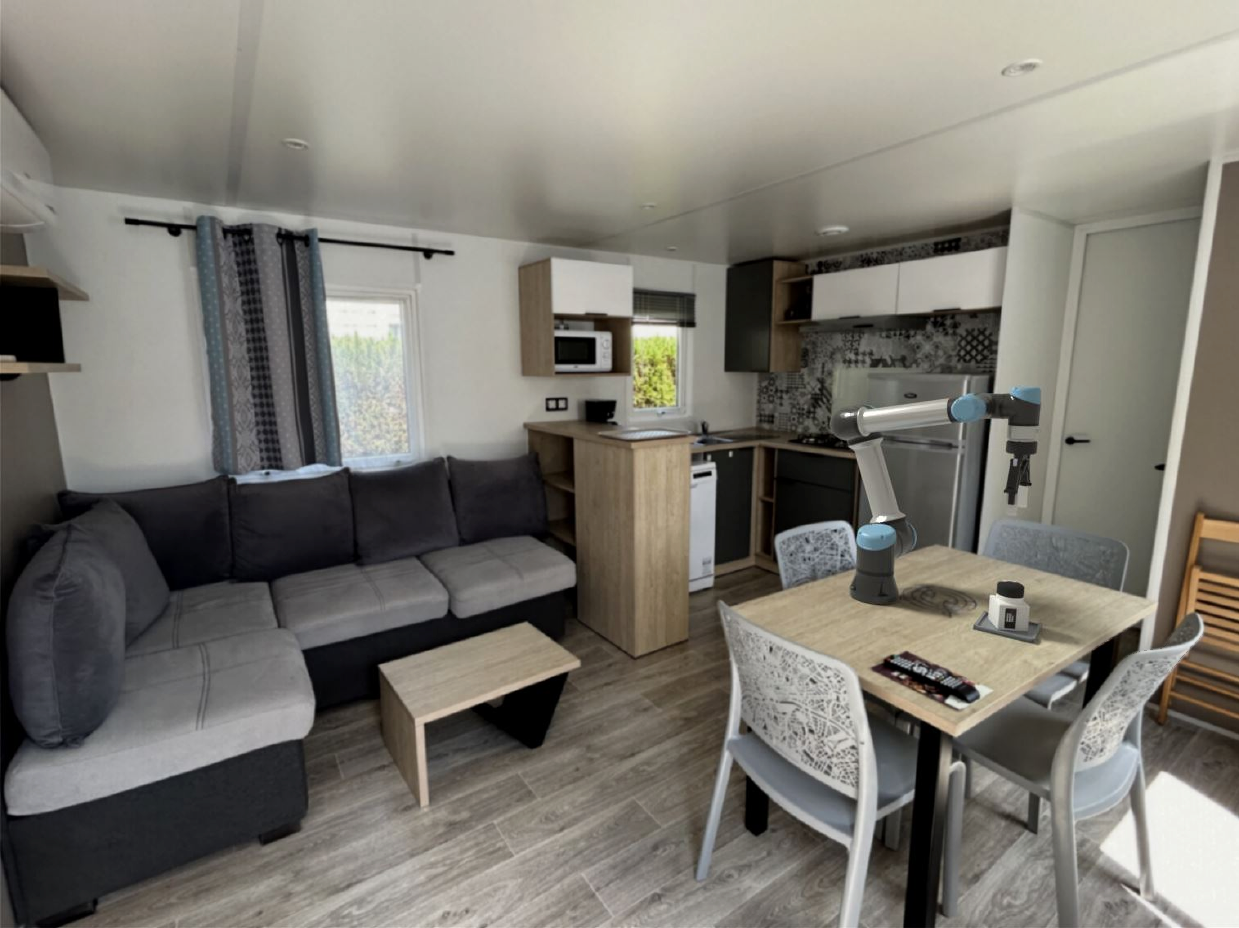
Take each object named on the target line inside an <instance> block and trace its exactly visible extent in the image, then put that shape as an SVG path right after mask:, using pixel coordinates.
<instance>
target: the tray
mask: <svg viewBox="0 0 1239 928" xmlns="http://www.w3.org/2000/svg"><path fill="white" fill-rule="evenodd" d="M988 615H989V611H986V610H983V611H982V613H981V615H980V616H979V617H978V619H977V620H976V621H975V622H974V624H973V627H972V629H973V630H975V631H978V632H983V633H987V634H991V635H996V636H1000V637H1004V638H1008V639H1013V640H1016V641H1021V642H1024V643H1028V644H1032V645H1035V642H1036V640H1037V638H1038V636H1039V635H1040V633H1041V630H1042V627H1043V623H1040V622H1037V621H1031V620H1029V624H1028V631H1027V632H1021V631H1008V630H998V629H997V628H996V627H995V626H994V625H993V624H992V623H991V621H990V620H989V619H988Z"/></svg>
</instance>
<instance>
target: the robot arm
mask: <svg viewBox="0 0 1239 928" xmlns="http://www.w3.org/2000/svg"><path fill="white" fill-rule="evenodd" d="M1041 406H1042V389H1041V388H1040V387H1038V386H1013V387H1010V391H1009V393H1008V392H1007V393H988V392H987V393H983V392H981V393H980V392H974V393H966V394H965V395H962V396H957V397H956V396H955V397H950V398H949V397H948V398H947V397H946V398H942V399H934V400H928V401H927V400H926V401H920V402H912V403H905V404H897V405H892V406H891V405H890V406H885V407H874V406H872V405H870V404H869V405H868V404H857V405H856V404H855V405H850V406H843V407H840V408H839V409H837V410H835V412H834V413H833V414H832V416H831V418H830V423H829V427H830V430H831V432H832V433H833V435H834V436H835V437H836V438H838V439H840V440H842V441H843V440H844V441H846V442H847V445H848V448H850V449H851V450H853V451H854V454H855V457H856V461H857V465H858V469H859V472H860V475H861V479H862V482H863V486H864V490H865V493H866V496H867V499H868V503H869V507H870V510H871V514H872V518H871V519H870V520H869V524H864V525H863V526H861V527H860V528H859V529H858V531H857V534H856V535H857V536H856V556H855V558H856V560H855V562H856V563H855V572H854V576H853V578H852V581H851V582H850V585H849V593H850V594H849V596H850V597H852V598H853V599H855V600H857V601H859V600H860V602H862V603H866V604H867V603H868V604H873V605H891V604H895V603H896V602H898V601H899V600H900V597H899V596H900V591H899V588H898V585H897V582H896V579H895V578H896V577H895V563H896V559H899V558H900V557H903V556H905V555H907V554H909V553H910V552H911V551H912V550H913V549H914V547H915V546H916V543H917V541H918V538H917V532H916V529H915V528H914V526H913V525H912V524H911V523H910V522H908V520H907V516H906V514H905V513H903V512H901V511H900V509H899V506H898V503H897V499H896V496H895V495H896V494H895V492H894V488H893V485H892V482H891V478H890V475H889V471H888V468H887V464H886V461H885V457H884V453H883V449H882V446H881V443H882V441H883V440H884V437H883V436H884V435H883V432H888V431H896V430H904V429H905V430H906V429H914V428H925V427H931V426H941V425H949V424H950V425H951V424H960V423H973V422H974V423H975V422H977V421H981V420H984V419H985V420H986V419H989V420H991V419H992V420H993V419H994V420H995V419H997V420H1007V425H1006V426H1007V427H1006V428H1007V429H1006V439H1007V440H1006V442H1005V443H1006V444H1005V452H1006V453H1007V454H1010V455H1011V454H1012V455H1013V457H1012V458H1010V459H1009V468H1008V474H1007V480H1006V486H1005V489H1003V493H1004V494H1006V497H1005V511H1004V512H1005V513H1004V516H1009V517H1010V516H1011V517H1017V516H1018V508H1022V509H1023V508H1025V509H1027V507H1028V495H1029V487H1032V485H1033V482H1031V455H1032V456H1033V455H1036V454H1037V451H1038V441H1036V440H1038V438H1039V437H1038V436H1039V433H1041V432H1042V431H1041V429H1040V428H1039V426H1040V416H1041V409H1042V408H1041Z"/></svg>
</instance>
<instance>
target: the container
mask: <svg viewBox="0 0 1239 928" xmlns="http://www.w3.org/2000/svg"><path fill="white" fill-rule="evenodd" d="M1024 596H1025V585H1023V584H1022V583H1020V582H1018V581H1015V580H1009V579H1007V580H1006V579H1005V580H1004V579H1003V580H999V581H998V582H997V583H996V594H990V595H989V603H988V612H989V615H988V619H989V620H990V621H991V623H992V624H993V625H994V626H995V627H996V628H997V629H998V630H1008V631H1021V632H1027V631H1028V624H1029V621H1030V610H1031V606H1030V605H1029V604H1028V603H1027V602H1025V601H1024V598H1025V597H1024Z"/></svg>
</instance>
